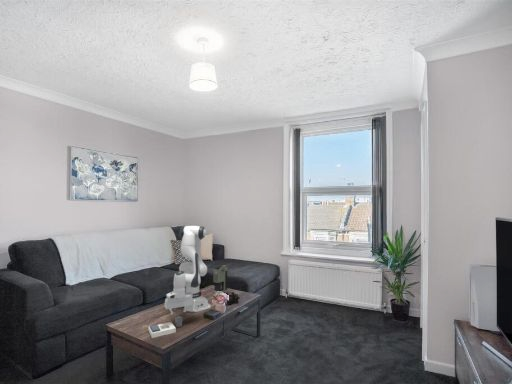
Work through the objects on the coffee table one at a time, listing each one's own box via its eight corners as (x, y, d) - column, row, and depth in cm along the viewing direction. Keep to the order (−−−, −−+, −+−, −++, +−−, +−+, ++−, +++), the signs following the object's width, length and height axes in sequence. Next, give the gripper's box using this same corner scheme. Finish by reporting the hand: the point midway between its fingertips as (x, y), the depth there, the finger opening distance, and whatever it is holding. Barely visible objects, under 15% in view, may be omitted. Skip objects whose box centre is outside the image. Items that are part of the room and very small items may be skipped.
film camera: (218, 305, 256) (218, 293, 257) (221, 300, 269) (221, 289, 269) (238, 306, 254) (238, 295, 254) (240, 301, 266) (240, 290, 267)
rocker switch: (180, 324, 217) (180, 315, 217) (182, 326, 213) (182, 317, 213) (175, 325, 214) (175, 316, 215) (176, 327, 211) (176, 318, 211)
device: (218, 298, 275) (218, 266, 276) (212, 296, 279) (212, 265, 280) (227, 294, 286) (228, 263, 287) (222, 292, 291) (222, 262, 291)
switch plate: (171, 326, 213) (171, 320, 213) (175, 332, 203) (175, 326, 203) (148, 331, 205) (148, 325, 205) (151, 338, 194) (152, 332, 194)
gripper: (191, 290, 222) (190, 309, 221) (164, 294, 212) (163, 313, 211) (194, 293, 217) (193, 311, 216) (166, 296, 206) (165, 316, 205)
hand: (178, 312), depth 213 cm, fingers open, 8 cm apart
